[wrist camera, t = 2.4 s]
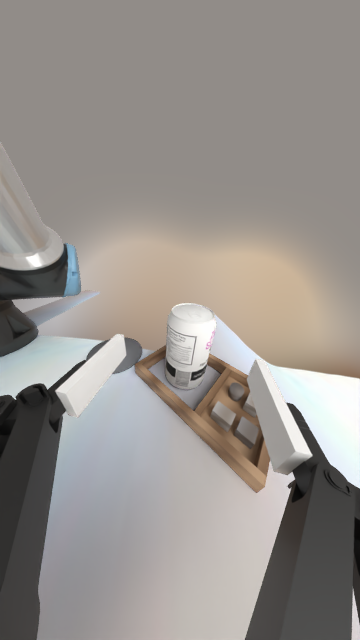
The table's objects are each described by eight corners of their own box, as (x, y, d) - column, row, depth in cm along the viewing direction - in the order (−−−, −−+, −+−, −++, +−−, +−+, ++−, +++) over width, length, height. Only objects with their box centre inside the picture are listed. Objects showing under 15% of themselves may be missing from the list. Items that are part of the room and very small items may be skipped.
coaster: (78, 353, 32) (78, 352, 32) (125, 333, 40) (125, 332, 40) (101, 385, 26) (101, 384, 26) (152, 354, 34) (151, 352, 34)
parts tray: (135, 372, 29) (134, 364, 28) (179, 343, 38) (179, 336, 37) (256, 492, 16) (264, 486, 15) (276, 403, 26) (282, 394, 24)
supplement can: (163, 361, 32) (165, 301, 25) (196, 358, 34) (207, 302, 27) (167, 394, 25) (171, 325, 18) (209, 388, 27) (228, 323, 20)
